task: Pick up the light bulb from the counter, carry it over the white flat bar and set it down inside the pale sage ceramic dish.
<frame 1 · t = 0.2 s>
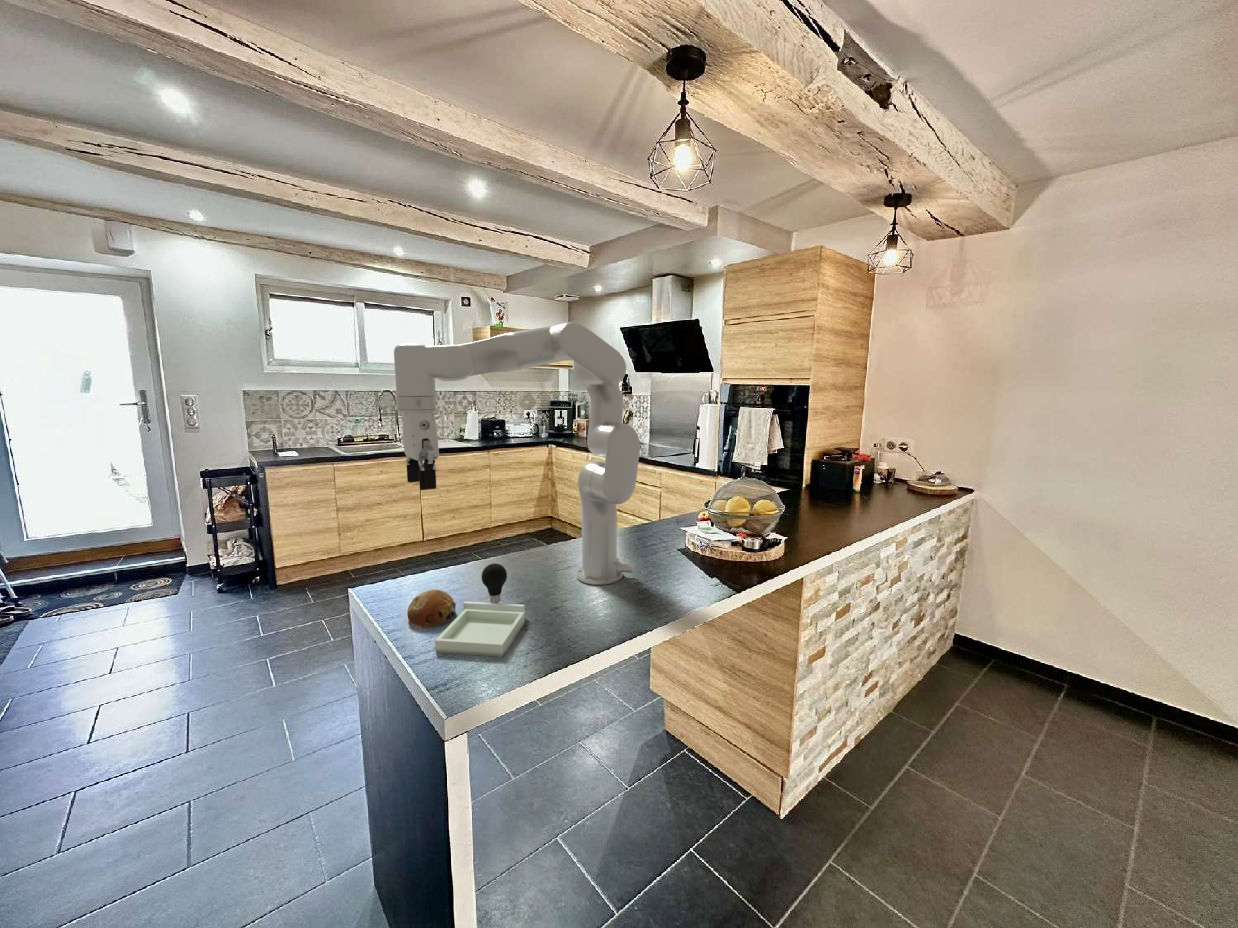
hand: (421, 485, 104), 30 cm above the counter, tool pointing down, fingers open, 9 cm apart
light bulb: (495, 604, 116), on the counter
white flat bar: (494, 616, 109), on the counter
bread roll: (433, 618, 109), on the counter
dish: (482, 636, 100), on the counter
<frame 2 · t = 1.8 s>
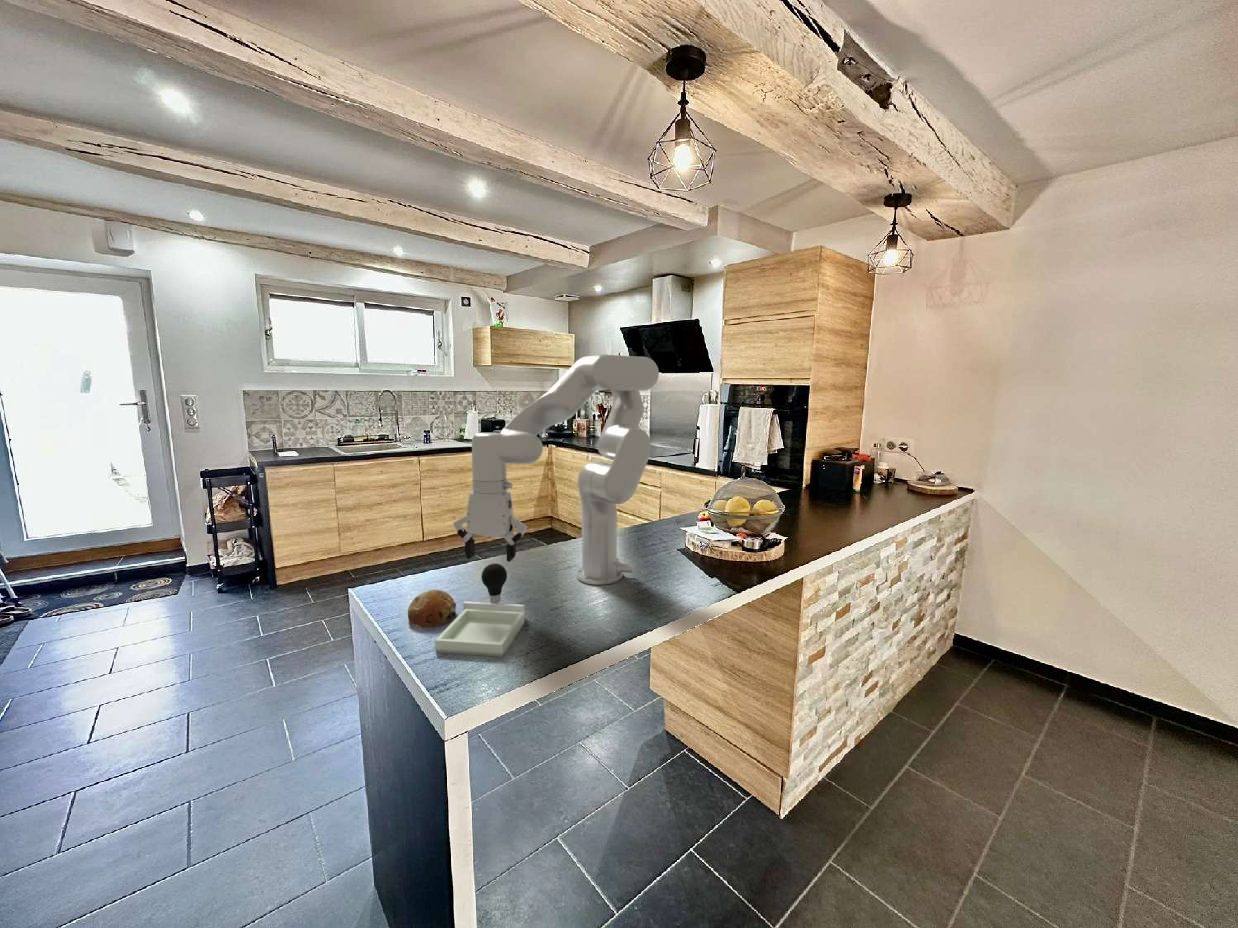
hand: (490, 558, 113), 12 cm above the counter, tool pointing down, fingers open, 9 cm apart
nothing on the counter moved.
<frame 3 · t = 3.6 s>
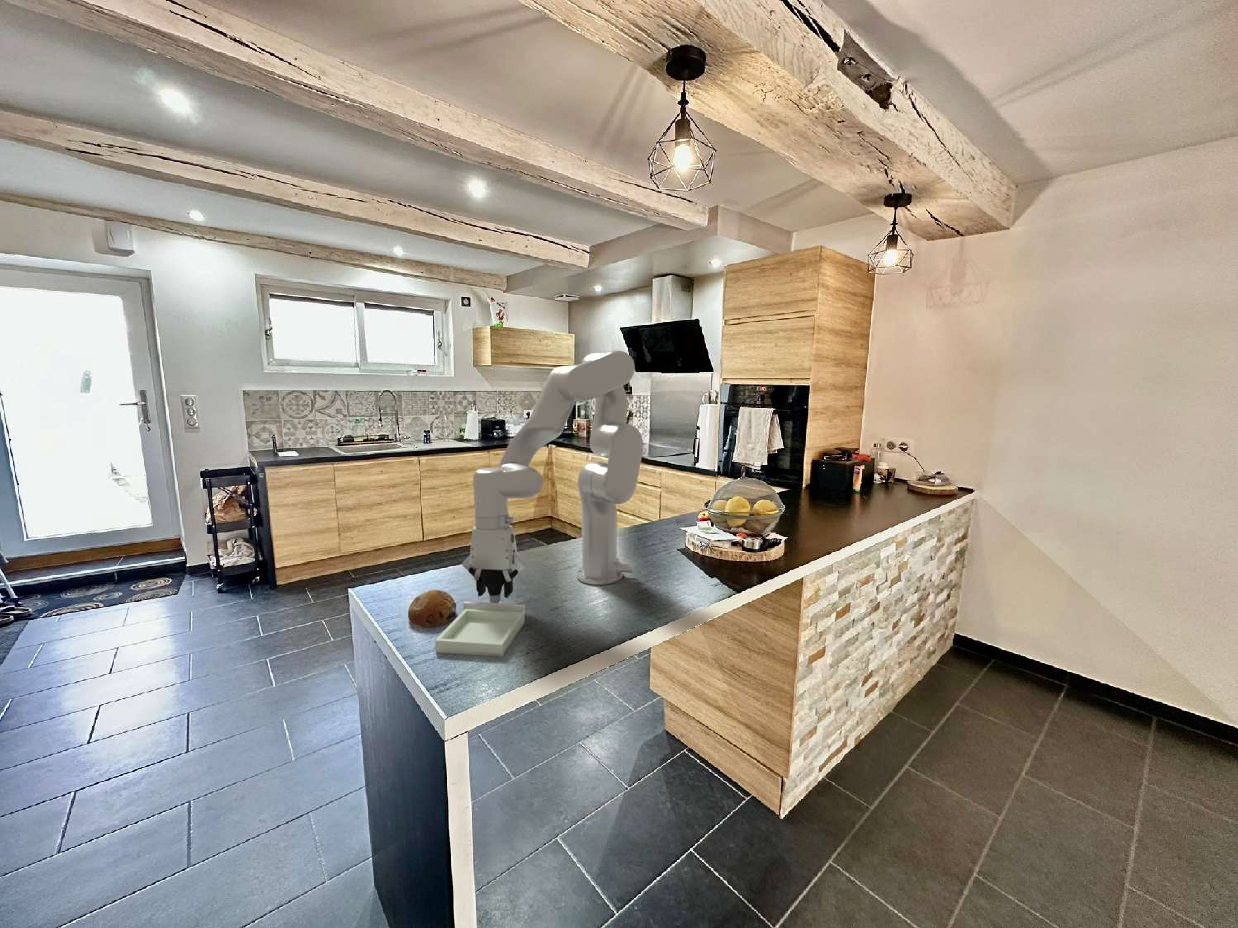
hand: (494, 594, 115), 3 cm above the counter, tool pointing down, fingers closed on light bulb, 5 cm apart
light bulb: (495, 604, 116), on the counter, touching gripper
everything else where it was.
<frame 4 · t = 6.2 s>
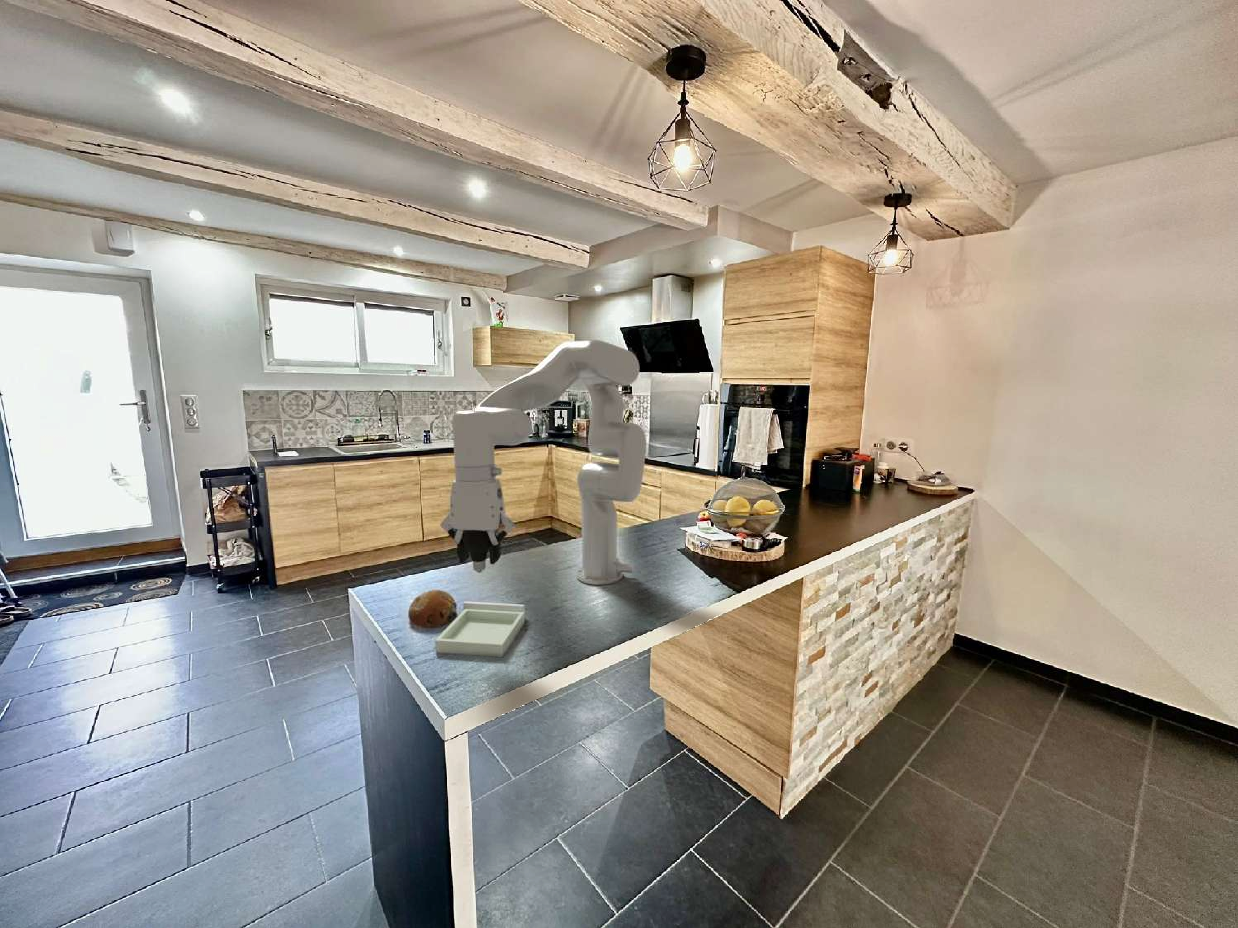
hand: (479, 560, 98), 17 cm above the counter, tool pointing down, fingers closed on light bulb, 5 cm apart
light bulb: (479, 573, 98), point 14 cm above the counter, touching gripper
everything else where it was.
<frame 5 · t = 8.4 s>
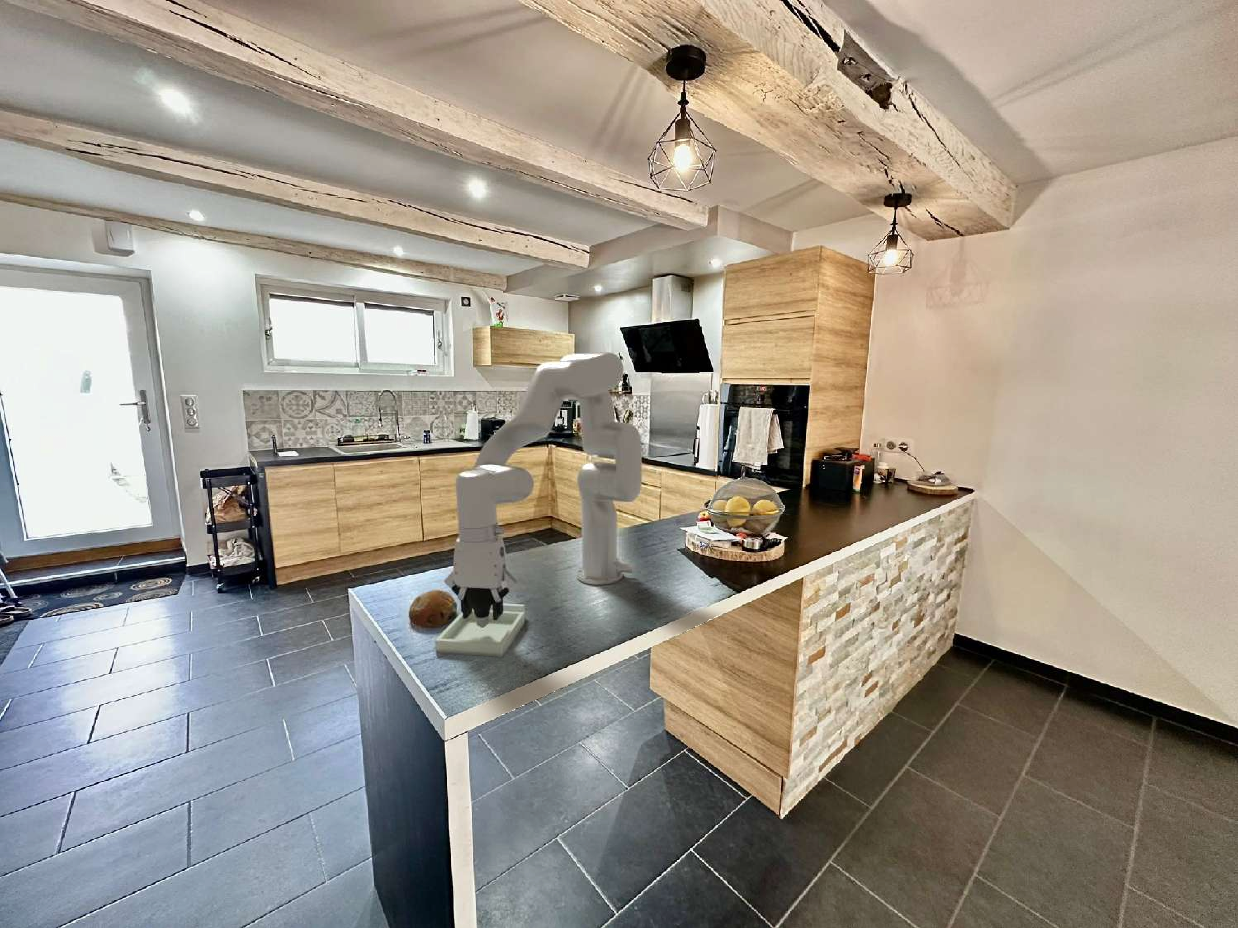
hand: (482, 615, 100), 5 cm above the counter, tool pointing down, fingers closed on light bulb, 5 cm apart
light bulb: (482, 627, 100), point 2 cm above the counter, touching gripper
everything else where it was.
when the fingers open (5 cm above the counter, at t = 9.1 s): light bulb drops 1 cm, resting on dish.
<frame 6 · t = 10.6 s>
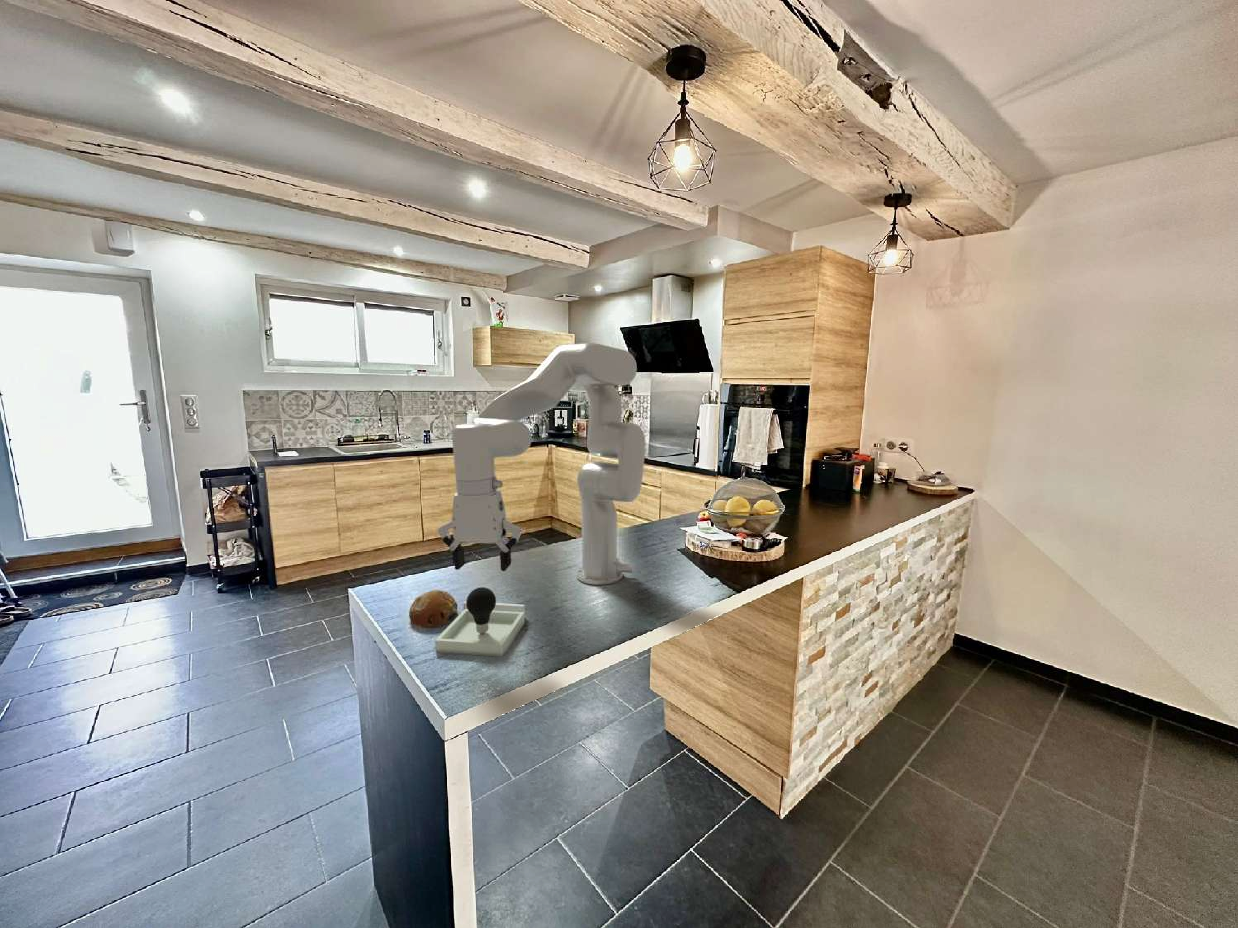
hand: (482, 567, 99), 15 cm above the counter, tool pointing down, fingers open, 9 cm apart
light bulb: (482, 634, 101), resting on dish
everything else where it was.
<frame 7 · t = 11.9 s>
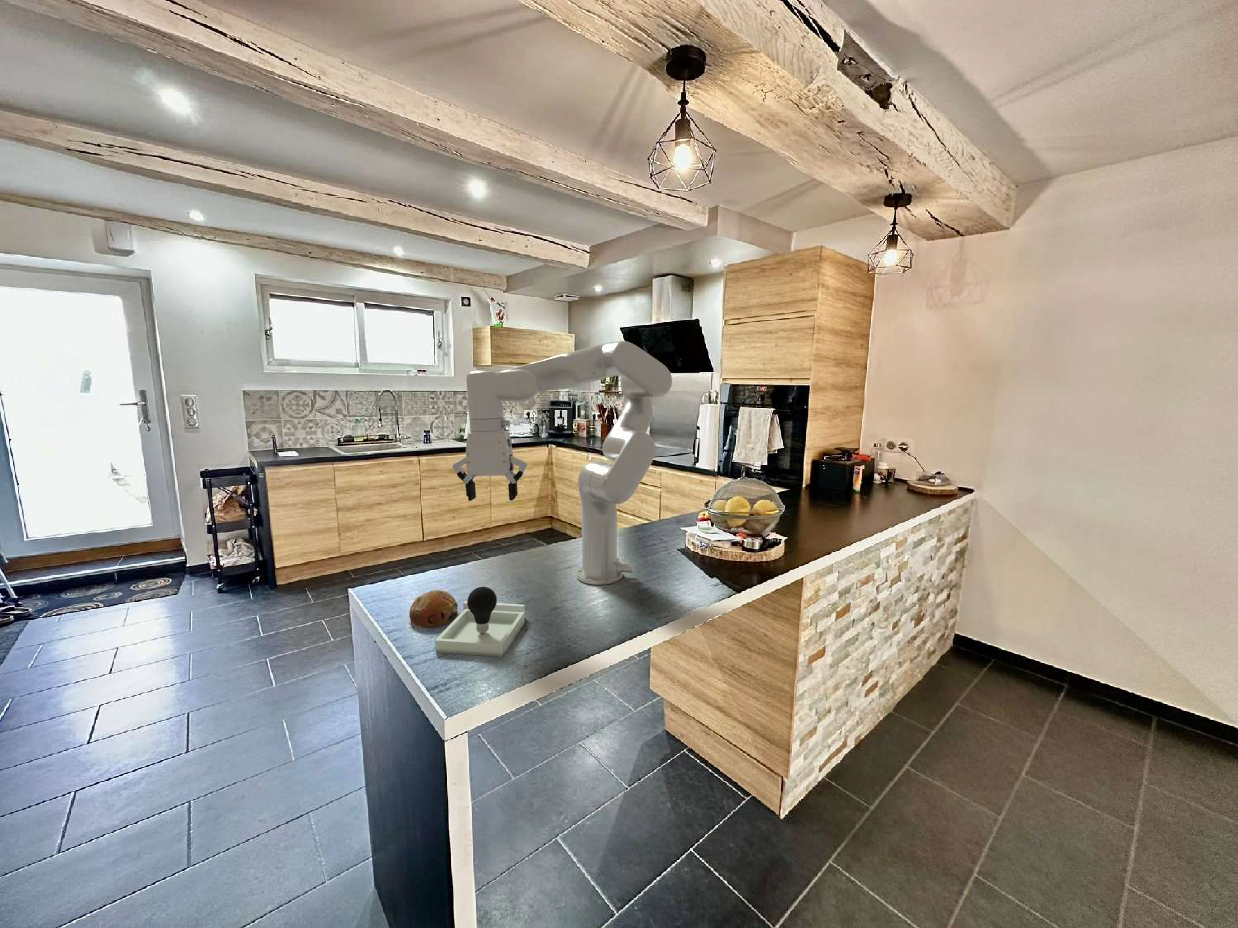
hand: (492, 499, 113), 25 cm above the counter, tool pointing down, fingers open, 9 cm apart
nothing on the counter moved.
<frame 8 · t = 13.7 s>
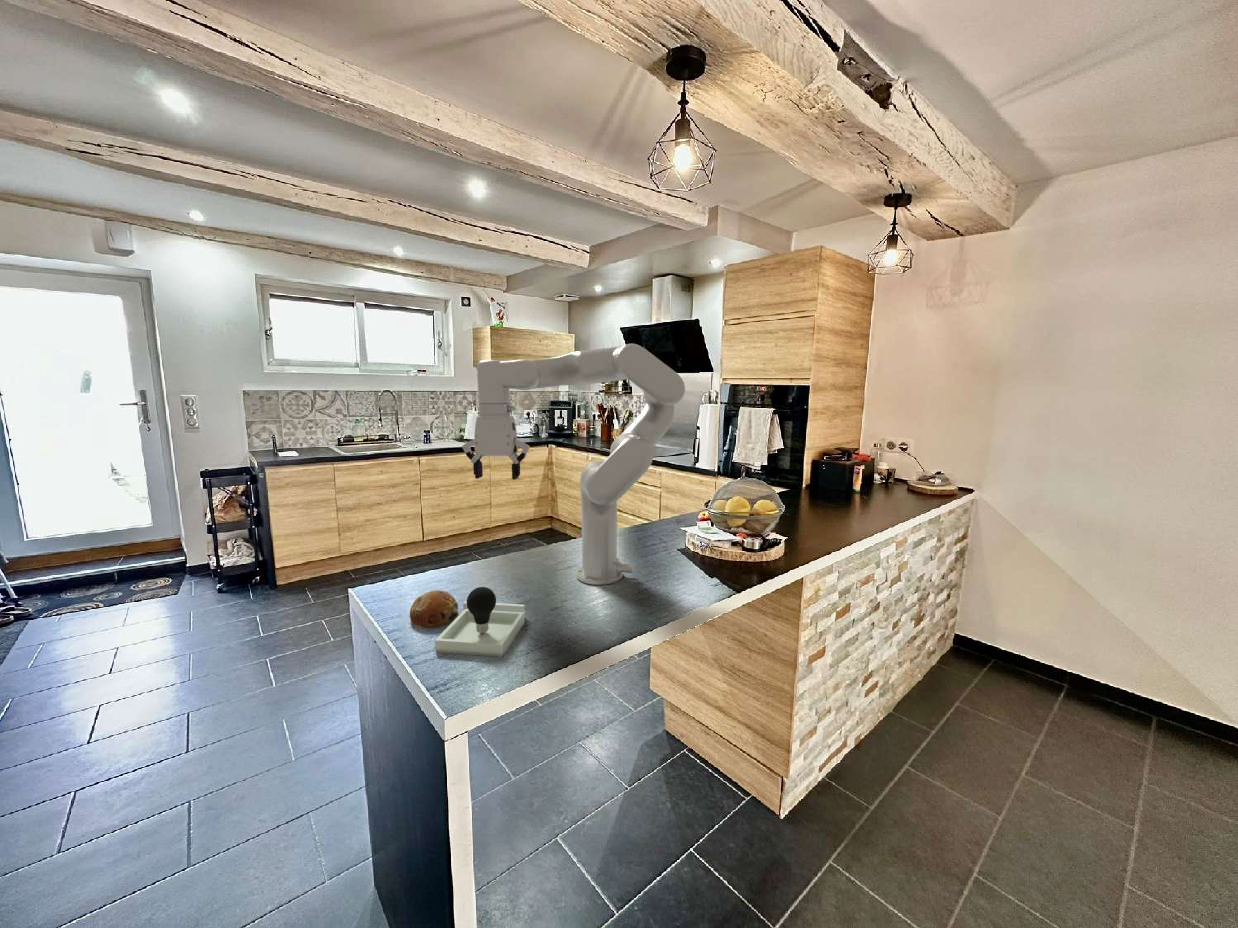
hand: (497, 478, 123), 28 cm above the counter, tool pointing down, fingers open, 9 cm apart
nothing on the counter moved.
at the end: light bulb inside the target area on the dish (0.1 cm from its centre), point 0.4 cm above the dish's base; the gripper is holding nothing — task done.
